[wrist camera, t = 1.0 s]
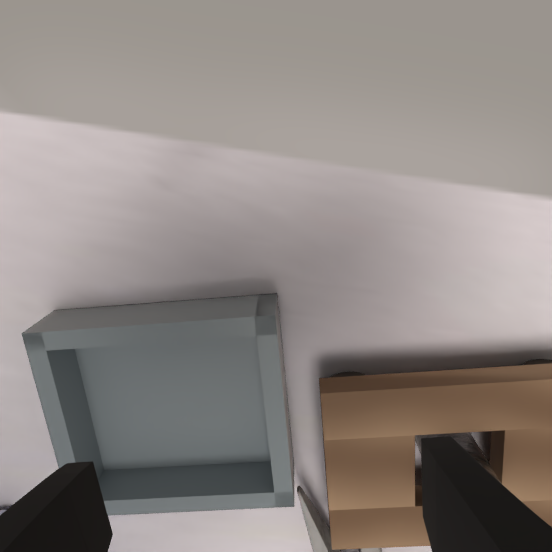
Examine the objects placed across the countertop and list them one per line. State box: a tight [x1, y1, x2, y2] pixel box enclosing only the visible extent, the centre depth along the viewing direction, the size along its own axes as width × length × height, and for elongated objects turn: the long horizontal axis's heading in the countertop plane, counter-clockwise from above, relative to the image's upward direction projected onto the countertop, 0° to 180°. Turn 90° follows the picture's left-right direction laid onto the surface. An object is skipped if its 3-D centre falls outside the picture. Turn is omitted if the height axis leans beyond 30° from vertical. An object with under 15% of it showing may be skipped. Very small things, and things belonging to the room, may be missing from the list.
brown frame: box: [319, 359, 552, 550], centre depth 20 cm, size 8×11×2 cm
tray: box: [22, 294, 294, 515], centre depth 20 cm, size 9×10×2 cm
